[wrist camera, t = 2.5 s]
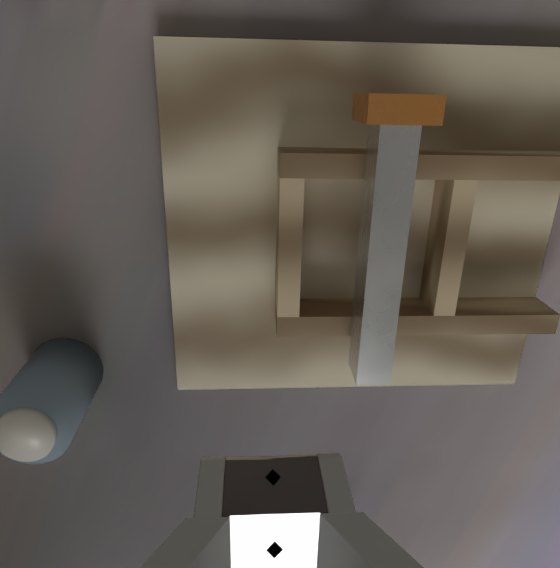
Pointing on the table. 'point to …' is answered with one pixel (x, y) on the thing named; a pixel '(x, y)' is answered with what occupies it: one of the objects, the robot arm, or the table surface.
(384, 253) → the bar
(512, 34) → the table surface
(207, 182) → the dock
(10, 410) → the blue-grey cylinder
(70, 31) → the table surface
